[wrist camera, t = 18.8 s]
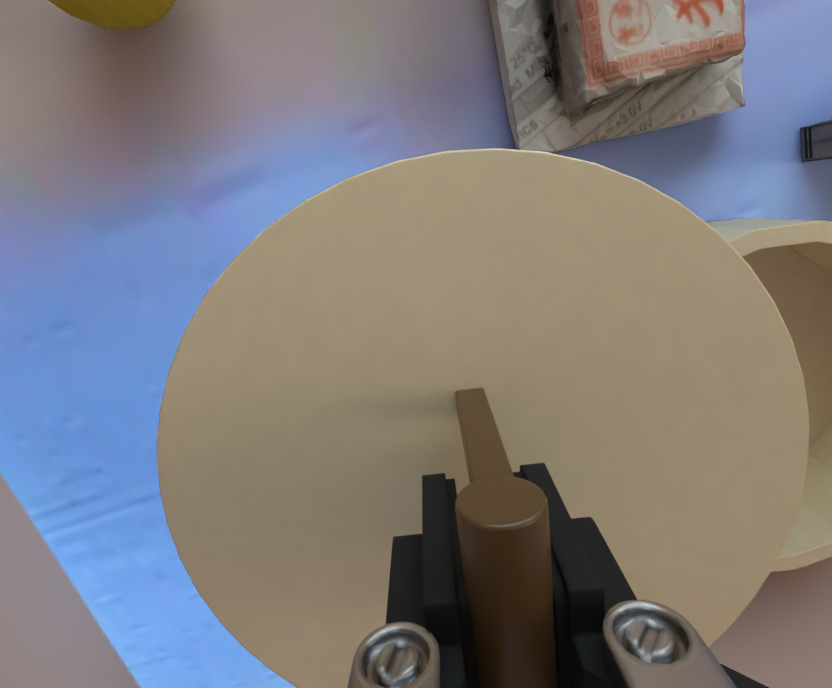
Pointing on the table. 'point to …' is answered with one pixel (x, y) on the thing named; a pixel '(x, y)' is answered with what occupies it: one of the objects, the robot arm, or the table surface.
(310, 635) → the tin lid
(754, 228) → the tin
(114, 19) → the lemon
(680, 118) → the packaged product
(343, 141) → the table surface
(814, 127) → the mini dv tape
